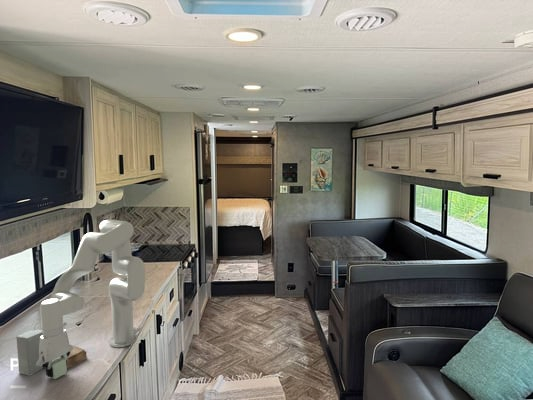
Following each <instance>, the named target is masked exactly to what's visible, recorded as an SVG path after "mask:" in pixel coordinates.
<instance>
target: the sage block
mask: <svg viewBox="0 0 533 400" xmlns="http://www.w3.org/2000/svg"><path fill="white" fill-rule="evenodd" d="M51 368H52V369H53V377H52V378H51V379H53V380H56V379H58V378H60V377H62V376H63V375H65V374H67V373H68V368H67V367H66V359H65V358H63V357H61V356H60V357H58V358H56V359H54V360H52V364H51Z"/></svg>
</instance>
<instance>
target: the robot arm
mask: <svg viewBox="0 0 533 400" xmlns="http://www.w3.org/2000/svg"><path fill="white" fill-rule="evenodd" d="M98 228H99V231H100V232H98V231H97V232H96V231H95V232H94V231H91V232H87V233H86V234H85V233H84V235H83V237H82V239H81V241H80V242H79V245H78V248H77V251H76V254H75V256H74V258H73V261H72V263H71V266H70V267H69V268H67V269H66V270H65V271H64V273H63V274H62V275H61V276H60V277H59V278H58V279H57V281H56V283H55V286H54V288H53V290H52V293H51V295H50V298H48V299H45V300H43V301H42V302H41V303H40V305H39V311H40V314H39V315H40V320H41V321H40V323H41V324H40V325H41V330H42V336H41V337H40V342H39V360H38V361H37V363H36V365H37V366H40V367H44V368H43V369H45V374H46V377H49V378H51V379H53V378H52V377H53V369H52V368H51V364H52V360H54V359H56V358H58V357H60V356H61V357H63V358H65V359H66V367H67V360H68V356H69V355H70V352H71V351H72V350H73V348H74V347H73V346H71V345H72V344H71V343H70V341H69V336H68V333H67V330H66V329H65V327H66V326H67V324H68V323H67V322H64V316H65V315H70V314H75V313H77V312H79V311H80V310H82V309H83V308H84V305H85V299H84V297H83V296H82V295H81V294H78V293H73V292H72V291H71V289H72V287H73V285H74V283H76V281H77V280H78V279H80V278H82V277H83V276H86V275H88V274H90V273H92V272H93V271H94V268H95V266H96V263H97V260H98V258H99V255H100V254H104V255H105V254H109V253H111V269H112V272H113V273H114V274H116V275H119V276H116V277H114V278H112V279H111V280H110V281H109V284H108V289H107V290H108V295H109V298H110V308H111V330H112V331H111V332H112V333H111V334H112V337H111V338H110V339H109V342H108V343H109V344H108V345H110V346H111V347H113V348H126V347H129V346H131V345H133V344H135V343H136V342H137V341H138V336H137V333H138V332H140V331H142V327H141V326H138V327H135V326H134V306H133V302H137V301H139V300H140V299H141V298H142V297H143V296H144V292H145V287H146V286H145V285H146V284H145V283H146V282H145V279H146V278H145V277H146V269H145V268H146V267H145V262H144V261H143V260H142V259H141V257H138V256H133V255H132V244H131V238H132V236H133V234H134V226H133V224H132V223H131V222H129V221H125V220H117V219H105V220H102V221H101V222H100V223H99V227H98ZM70 344H71V345H70ZM43 360H45V363H42V362H43Z"/></svg>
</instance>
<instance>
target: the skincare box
mask: <svg viewBox="0 0 533 400" xmlns="http://www.w3.org/2000/svg"><path fill="white" fill-rule="evenodd" d="M41 336H42V329H38V328H37V329H36V328H34V329H31V330H29V331H25V332H23V333H22V334H19V335H17V336H15V337H16V338H15V339H16V349H17V362H18V363H17V364H18V373H19V374H23V375H26V376H29V377H30V376H32V375H34V374H36V373H38V372H39V371H40V370H43V369H45V368H44V367H40V366H37V365H36V363H37V361H38V360H39V342H40V337H41ZM42 363H45V360H43V362H42Z"/></svg>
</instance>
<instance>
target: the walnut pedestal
mask: <svg viewBox="0 0 533 400" xmlns="http://www.w3.org/2000/svg"><path fill="white" fill-rule="evenodd" d="M69 344H70V345H71V346H73V347H74V348H73V350H72V351H71V352H70V355H69V356H68V360H67V369H68V368H70V367H72V366H75V365H76V364H78V363H80V362H82V361H84V360H86V359H88V358H87V357H88V356H87V350H85V349H83V348H80V346H79V347H78V346H76V345H74V344H71V343H69Z"/></svg>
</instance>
